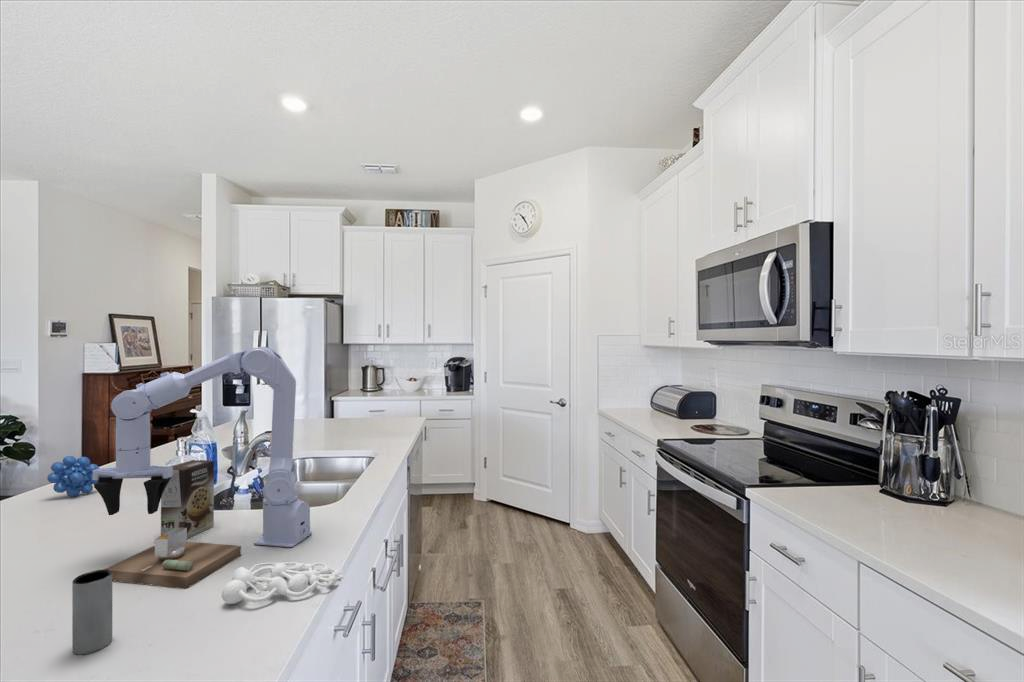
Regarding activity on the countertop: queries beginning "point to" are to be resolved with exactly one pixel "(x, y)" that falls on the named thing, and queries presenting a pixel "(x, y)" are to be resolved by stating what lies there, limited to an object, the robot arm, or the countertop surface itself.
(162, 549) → the knob
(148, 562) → the base
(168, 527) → the coffee box
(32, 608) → the countertop surface
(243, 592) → the tangled rod sculpture
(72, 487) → the blue ball cluster
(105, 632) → the planter
